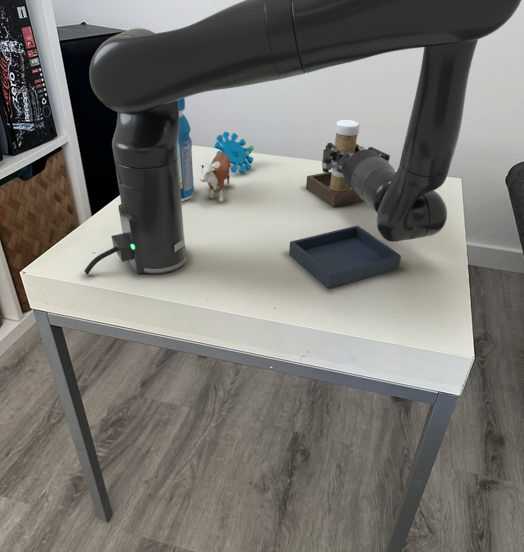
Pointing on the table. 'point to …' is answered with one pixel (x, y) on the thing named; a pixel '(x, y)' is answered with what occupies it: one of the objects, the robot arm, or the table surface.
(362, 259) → the tray
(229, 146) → the blue virus toy
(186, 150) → the beverage bottle
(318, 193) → the open box
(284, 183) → the table surface
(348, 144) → the sprinkles bottle
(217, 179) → the bull figurine
